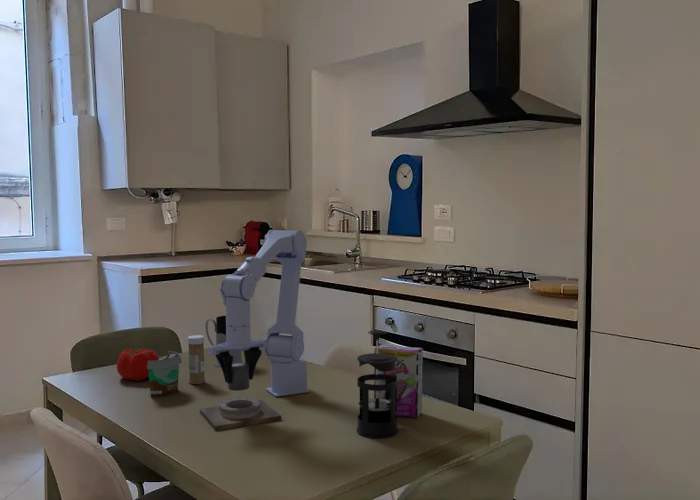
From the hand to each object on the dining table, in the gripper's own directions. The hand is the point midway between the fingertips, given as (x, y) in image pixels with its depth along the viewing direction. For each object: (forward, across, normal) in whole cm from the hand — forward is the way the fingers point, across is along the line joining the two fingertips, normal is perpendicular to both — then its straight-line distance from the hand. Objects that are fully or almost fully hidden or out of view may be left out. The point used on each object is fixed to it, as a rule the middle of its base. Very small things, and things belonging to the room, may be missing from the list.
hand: (239, 380), depth 159 cm
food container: (+9, +6, -29) cm, 31 cm away
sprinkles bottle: (+9, -3, -34) cm, 35 cm away
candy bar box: (+9, -32, +22) cm, 40 cm away
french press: (+9, -21, +28) cm, 36 cm away
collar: (+9, 0, 0) cm, 9 cm away
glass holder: (+9, -19, -50) cm, 55 cm away
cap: (+2, 0, 0) cm, 2 cm away
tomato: (+9, +8, -49) cm, 50 cm away
